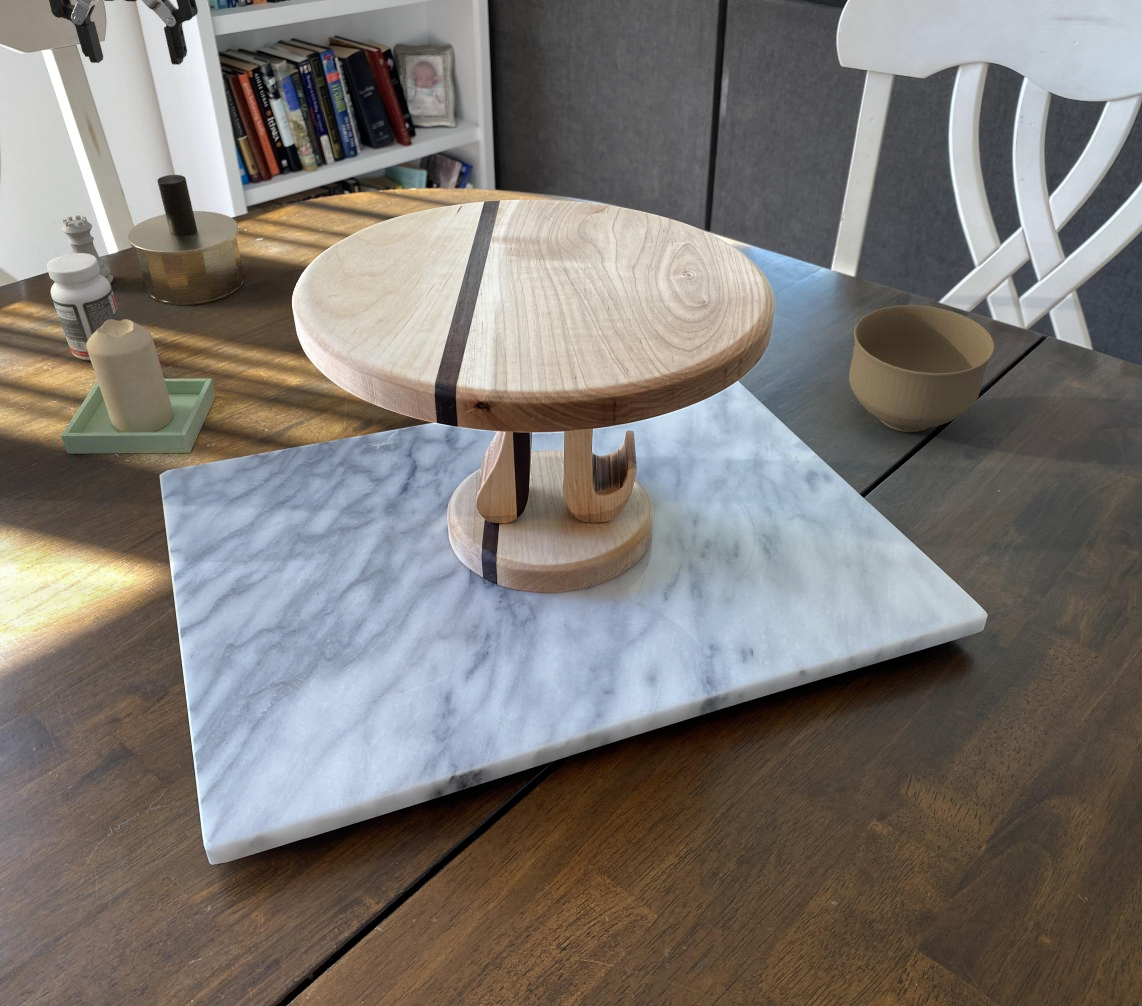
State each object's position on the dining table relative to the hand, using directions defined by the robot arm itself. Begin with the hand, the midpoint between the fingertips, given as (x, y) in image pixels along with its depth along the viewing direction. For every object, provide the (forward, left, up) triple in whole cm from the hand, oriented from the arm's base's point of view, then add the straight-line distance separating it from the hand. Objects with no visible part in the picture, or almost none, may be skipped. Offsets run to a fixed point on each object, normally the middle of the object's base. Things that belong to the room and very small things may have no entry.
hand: (138, 62), depth 101 cm
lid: (+2, -4, -18) cm, 18 cm away
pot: (+2, -4, -24) cm, 25 cm away
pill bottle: (-4, -20, -24) cm, 32 cm away
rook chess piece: (-10, -4, -24) cm, 27 cm away
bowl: (+79, -35, -24) cm, 90 cm away
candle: (+5, -35, -24) cm, 42 cm away
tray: (+5, -34, -24) cm, 42 cm away
